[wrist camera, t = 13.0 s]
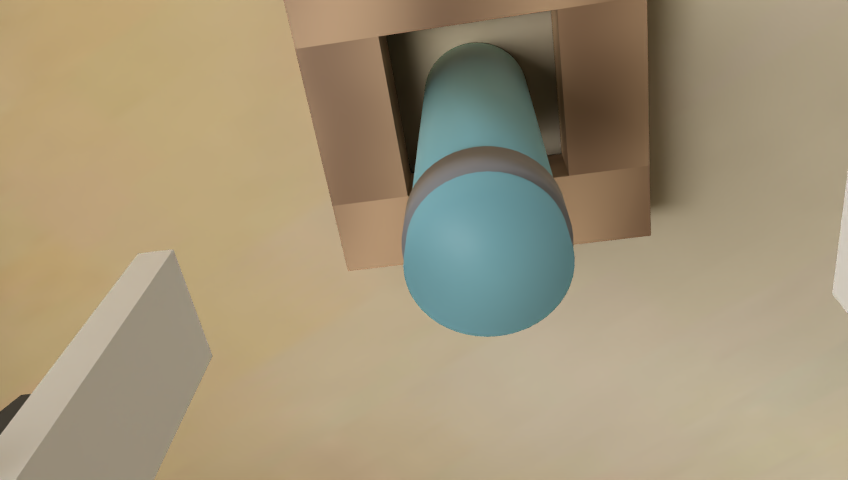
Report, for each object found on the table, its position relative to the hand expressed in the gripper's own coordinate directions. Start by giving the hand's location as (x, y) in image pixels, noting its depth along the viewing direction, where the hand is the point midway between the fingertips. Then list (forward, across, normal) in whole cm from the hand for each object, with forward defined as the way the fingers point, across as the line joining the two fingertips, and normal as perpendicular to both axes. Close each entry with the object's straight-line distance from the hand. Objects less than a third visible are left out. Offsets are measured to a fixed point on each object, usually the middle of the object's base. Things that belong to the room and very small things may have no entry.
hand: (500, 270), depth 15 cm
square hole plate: (+13, 0, 0) cm, 13 cm away
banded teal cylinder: (+13, 0, 0) cm, 13 cm away
